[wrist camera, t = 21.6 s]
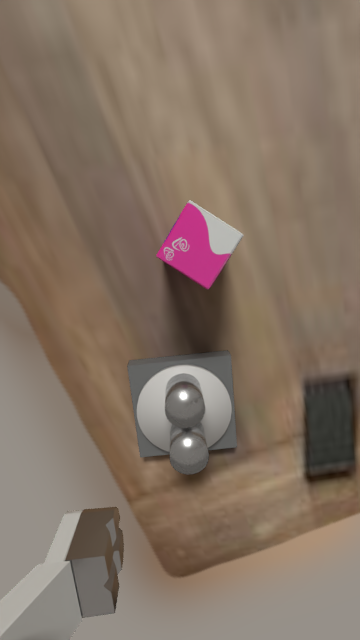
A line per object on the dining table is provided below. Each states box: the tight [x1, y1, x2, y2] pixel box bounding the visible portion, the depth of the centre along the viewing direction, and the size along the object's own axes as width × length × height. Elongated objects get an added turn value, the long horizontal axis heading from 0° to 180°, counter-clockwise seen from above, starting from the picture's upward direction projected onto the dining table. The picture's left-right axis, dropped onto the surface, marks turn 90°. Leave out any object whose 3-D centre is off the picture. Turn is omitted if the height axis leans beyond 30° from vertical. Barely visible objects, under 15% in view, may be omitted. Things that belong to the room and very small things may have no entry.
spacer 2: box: [170, 422, 209, 474], centre depth 38 cm, size 4×4×5 cm
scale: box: [127, 350, 237, 457], centre depth 41 cm, size 13×14×4 cm
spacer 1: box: [165, 373, 205, 428], centre depth 36 cm, size 4×4×5 cm
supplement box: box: [156, 200, 243, 289], centre depth 32 cm, size 6×6×12 cm
